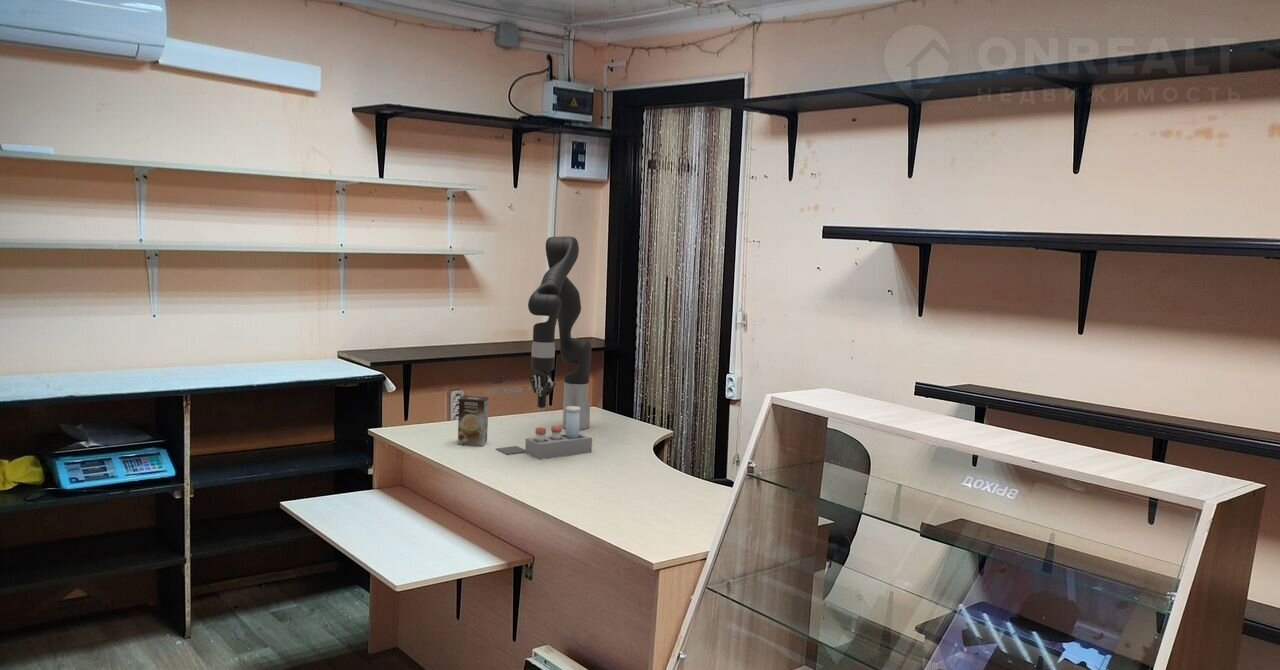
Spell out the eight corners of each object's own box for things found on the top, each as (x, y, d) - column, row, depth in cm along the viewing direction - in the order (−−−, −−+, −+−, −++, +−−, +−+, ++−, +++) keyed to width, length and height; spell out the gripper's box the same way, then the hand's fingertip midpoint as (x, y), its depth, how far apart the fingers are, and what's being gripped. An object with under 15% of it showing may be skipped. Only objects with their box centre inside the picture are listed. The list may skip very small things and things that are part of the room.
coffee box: (456, 444, 315) (457, 398, 313) (462, 440, 321) (463, 395, 319) (483, 446, 314) (484, 400, 312) (488, 442, 320) (489, 396, 318)
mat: (516, 446, 315) (516, 445, 315) (528, 452, 309) (528, 451, 309) (495, 449, 311) (495, 448, 310) (507, 455, 304) (507, 453, 304)
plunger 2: (557, 441, 312) (558, 425, 311) (562, 443, 309) (563, 427, 308) (548, 442, 309) (549, 426, 309) (554, 444, 307) (554, 428, 306)
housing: (576, 446, 320) (577, 432, 319) (591, 452, 313) (592, 437, 312) (525, 453, 308) (525, 438, 307) (539, 459, 301) (539, 444, 300)
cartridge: (573, 448, 317) (575, 405, 315) (581, 451, 313) (583, 408, 311) (562, 450, 314) (563, 406, 312) (569, 453, 310) (571, 409, 308)
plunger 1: (542, 443, 308) (542, 426, 307) (547, 445, 305) (547, 429, 305) (533, 444, 306) (533, 427, 305) (538, 446, 303) (539, 430, 302)
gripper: (563, 357, 299) (561, 410, 301) (542, 351, 309) (540, 402, 311) (543, 358, 294) (541, 412, 296) (522, 352, 305) (521, 404, 307)
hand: (541, 407), depth 304 cm, fingers closed
